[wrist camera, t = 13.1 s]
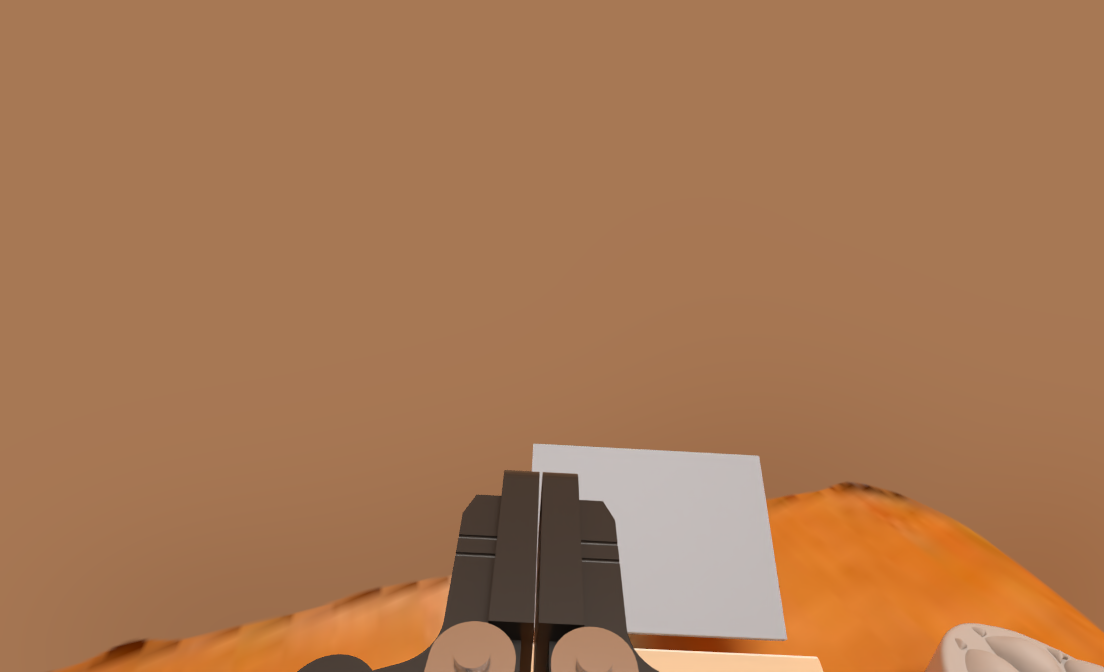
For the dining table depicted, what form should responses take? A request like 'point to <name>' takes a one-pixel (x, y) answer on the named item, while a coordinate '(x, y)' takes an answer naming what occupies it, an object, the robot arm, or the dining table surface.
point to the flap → (683, 538)
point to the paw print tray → (1000, 653)
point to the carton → (723, 661)
